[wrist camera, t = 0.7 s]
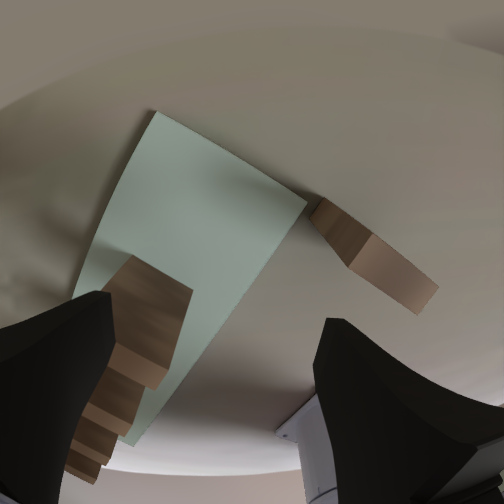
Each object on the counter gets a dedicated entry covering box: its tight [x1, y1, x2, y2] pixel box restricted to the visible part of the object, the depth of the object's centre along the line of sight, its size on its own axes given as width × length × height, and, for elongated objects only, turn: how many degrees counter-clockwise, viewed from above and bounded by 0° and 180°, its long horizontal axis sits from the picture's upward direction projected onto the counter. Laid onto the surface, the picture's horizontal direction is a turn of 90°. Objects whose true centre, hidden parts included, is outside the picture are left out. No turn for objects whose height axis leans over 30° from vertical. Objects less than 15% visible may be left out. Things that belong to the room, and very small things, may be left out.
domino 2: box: [70, 415, 119, 466], centre depth 18 cm, size 4×2×8 cm, turn 57°
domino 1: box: [82, 366, 146, 437], centre depth 17 cm, size 4×2×8 cm, turn 57°
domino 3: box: [100, 255, 194, 391], centre depth 15 cm, size 4×2×8 cm, turn 57°
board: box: [72, 111, 308, 447], centre depth 21 cm, size 10×28×1 cm, turn 147°
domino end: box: [64, 448, 102, 485], centre depth 19 cm, size 4×2×8 cm, turn 57°
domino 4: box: [309, 197, 439, 315], centre depth 15 cm, size 4×2×8 cm, turn 57°
